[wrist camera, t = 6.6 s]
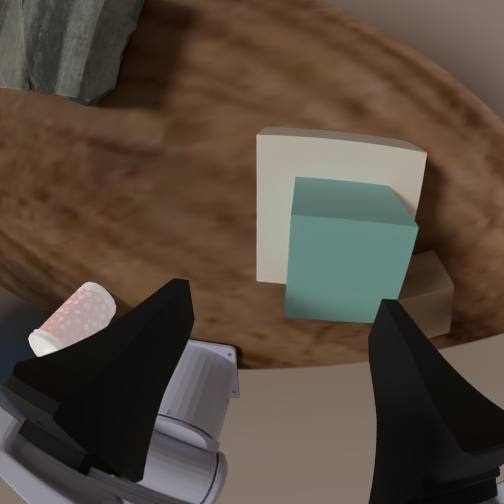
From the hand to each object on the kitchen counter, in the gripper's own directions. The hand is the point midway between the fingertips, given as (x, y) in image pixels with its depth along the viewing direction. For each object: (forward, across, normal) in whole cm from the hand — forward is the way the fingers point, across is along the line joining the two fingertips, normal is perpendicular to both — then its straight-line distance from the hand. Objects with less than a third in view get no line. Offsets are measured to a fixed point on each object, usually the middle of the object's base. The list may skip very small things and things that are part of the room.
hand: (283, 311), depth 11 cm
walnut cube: (+10, -10, +5) cm, 15 cm away
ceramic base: (+10, -2, -1) cm, 11 cm away
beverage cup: (+11, +19, +12) cm, 25 cm away
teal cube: (+7, -2, -1) cm, 7 cm away
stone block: (+11, +18, -14) cm, 25 cm away
